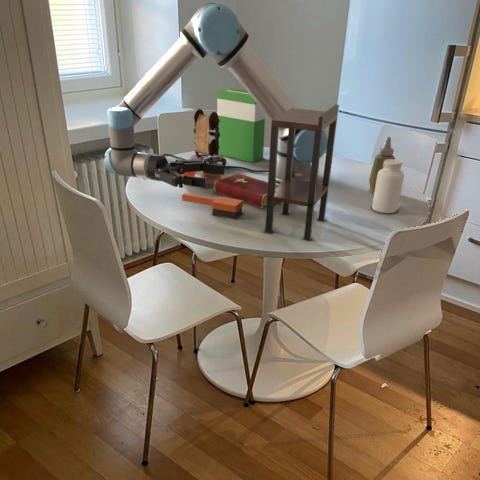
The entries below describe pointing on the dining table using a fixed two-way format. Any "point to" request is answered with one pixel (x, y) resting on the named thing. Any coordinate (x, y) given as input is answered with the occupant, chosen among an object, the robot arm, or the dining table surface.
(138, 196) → the dining table surface
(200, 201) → the brush
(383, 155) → the squeeze bottle
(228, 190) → the hardcover book
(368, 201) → the dining table surface
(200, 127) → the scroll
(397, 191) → the pill bottle
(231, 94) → the green cereal box
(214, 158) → the lighter
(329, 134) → the metal plant stand
